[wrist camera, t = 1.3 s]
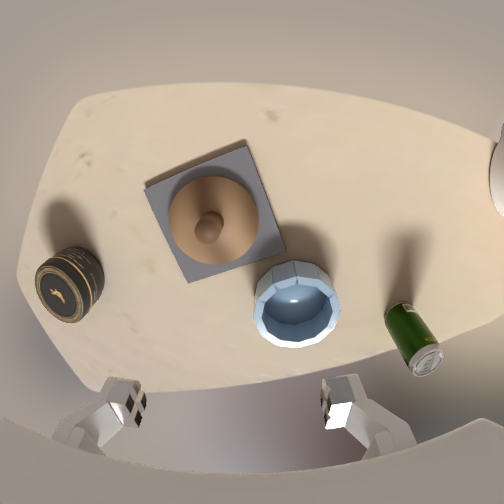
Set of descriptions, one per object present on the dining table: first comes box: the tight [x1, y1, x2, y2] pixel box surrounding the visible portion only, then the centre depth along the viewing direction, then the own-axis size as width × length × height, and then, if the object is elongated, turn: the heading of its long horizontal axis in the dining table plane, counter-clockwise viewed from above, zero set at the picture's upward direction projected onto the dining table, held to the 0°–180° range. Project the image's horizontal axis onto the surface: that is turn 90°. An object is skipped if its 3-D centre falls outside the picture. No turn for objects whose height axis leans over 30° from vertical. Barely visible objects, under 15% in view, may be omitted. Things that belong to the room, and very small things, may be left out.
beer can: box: [385, 302, 444, 377], centre depth 35 cm, size 5×5×12 cm
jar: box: [35, 247, 104, 323], centre depth 36 cm, size 10×10×8 cm
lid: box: [169, 176, 259, 264], centre depth 33 cm, size 11×11×5 cm
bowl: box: [253, 260, 341, 348], centre depth 37 cm, size 11×11×5 cm
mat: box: [144, 146, 286, 283], centre depth 35 cm, size 14×14×1 cm
